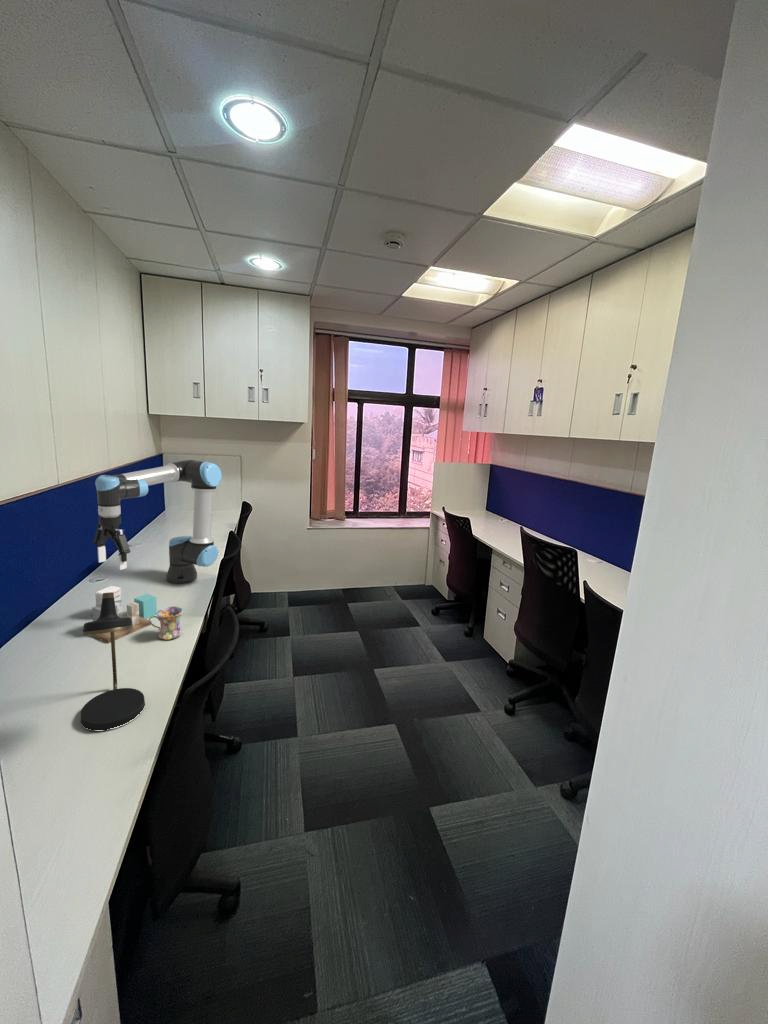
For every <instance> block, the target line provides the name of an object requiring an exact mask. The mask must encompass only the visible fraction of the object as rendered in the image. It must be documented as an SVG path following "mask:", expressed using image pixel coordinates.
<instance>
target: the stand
mask: <svg viewBox="0 0 768 1024" xmlns="http://www.w3.org/2000/svg"><path fill="white" fill-rule="evenodd" d="M91 608H92V609H91V610H92V621H95V620H97V619H98V618H99V617H100V612H101V604H100V605H97V606H96V605H95V606H92V607H91ZM115 608H116V614H117V616H119V614H118V609H117V605H115ZM124 617H130V618H131V619H132V624H133V627H134V628H133V629H128V630H122V631H115V632H114V636H115V641H116V640H119V639H120V638H123V637H125V636H127V635H130V634H133V633H134V632H136V631H140V630H141V629H144V628H146V627H149V626H152V625H151V624H150V622H149V619H148V618H147V619H145V618H142V617H140V616H139V604H138V603H135V602H134V601H133V602H130V603H128V604H126V615H125V616H124ZM90 636H91V637H94V638H95V639H97V640H101V641H102V642H105V643H107V644H111V635H110V632H109V633H101V634H93V635H90Z"/></svg>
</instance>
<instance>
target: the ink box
mask: <svg viewBox="0 0 768 1024" xmlns="http://www.w3.org/2000/svg"><path fill="white" fill-rule="evenodd" d="M109 592H113V593H114V601H115V605H117V609H118V615H119V614H121V613H122V612H123V608H122V606H123V605H122V588H121V587H120V586H119V587H118V586H114V585H110V586H108V587H105V588H102V589H100V590H98V591H96V592H95V606H97V605H100V604H102V596H103V593H109Z"/></svg>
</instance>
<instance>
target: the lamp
mask: <svg viewBox="0 0 768 1024" xmlns="http://www.w3.org/2000/svg"><path fill="white" fill-rule="evenodd" d="M133 628H134V627H133V624H132V619H131V618H130V617H125V616H122V617H121V616H119V615H118V616H117V614H116V608H115V601H114V593H113V592H109V593H103V596H102V604H101V612H100V617H99V618H98V619H97V620H95V621H93V620H92V621H88V622H85V623H83V626H82V632H81V634H80V636H81V637H82V636H84V637H85V636H91V635H93V634H101V633H109V632H110V635H111V642H110V649H111V663H112V664H111V667H112V689H110V690H107V691H105V692H103V693H100V694H98V695H96V696H94V697H93V698H91V699H90V700H89V701H88V702H86V703H85V704H84V705H83V706H82V708H81V711H80V715H79V716H80V725H81V724H82V725H83V726H84V727H85V728H88V729H91V730H107V729H110V728H114V727H117V726H120V725H123V724H125V723H127V722H129V721H130V720H132V719H134V718H135V717H136V716H137V715H138V714H140V712H141V711H142V710H143V708H144V706H145V707H146V702H145V701H146V700H145V695H144V694H143V692H142V691H140V690H139V689H137V688H129V687H122V688H118V674H117V657H116V656H117V655H116V640H115V636H114V632H115V631H122V630H128V629H133ZM144 709H145V708H144ZM143 711H144V710H143ZM140 715H141V714H140ZM82 725H81V726H82ZM83 726H82V727H83ZM84 727H83V728H84ZM85 728H84V729H85Z"/></svg>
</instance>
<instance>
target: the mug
mask: <svg viewBox="0 0 768 1024" xmlns="http://www.w3.org/2000/svg"><path fill="white" fill-rule="evenodd" d="M183 611H184V610H183V608H182V607H178V606H166V607H162V608H160V609H159V610H157V614H156V615H154V616H151V617H149V618H148V620H149V622H150V624H151V625H150V626H152V627H154V628H156V629H158V630H157V631H158V638H159V639H162V640H173V639H176V638H179V637H180V636H181V635H182V633H183V630H182V629H181V627H180V626H181V625H180V621H181V616H182V615H183ZM152 618H153V619H154V618H156V619H158V621H159V622H160V623H159V624H160V626H157V625H155V624H154V623H153V622H152V620H151V619H152Z"/></svg>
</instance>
